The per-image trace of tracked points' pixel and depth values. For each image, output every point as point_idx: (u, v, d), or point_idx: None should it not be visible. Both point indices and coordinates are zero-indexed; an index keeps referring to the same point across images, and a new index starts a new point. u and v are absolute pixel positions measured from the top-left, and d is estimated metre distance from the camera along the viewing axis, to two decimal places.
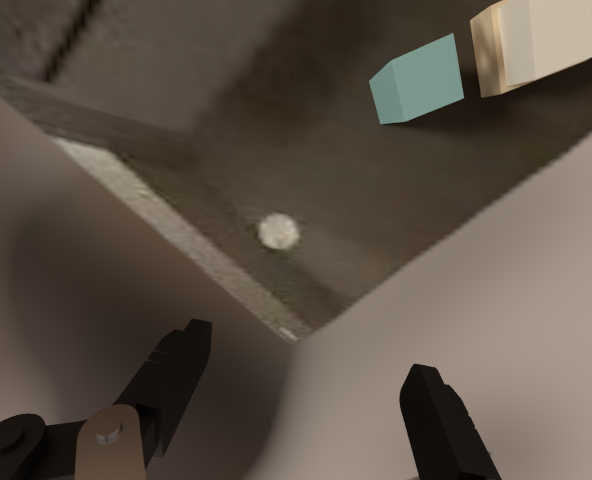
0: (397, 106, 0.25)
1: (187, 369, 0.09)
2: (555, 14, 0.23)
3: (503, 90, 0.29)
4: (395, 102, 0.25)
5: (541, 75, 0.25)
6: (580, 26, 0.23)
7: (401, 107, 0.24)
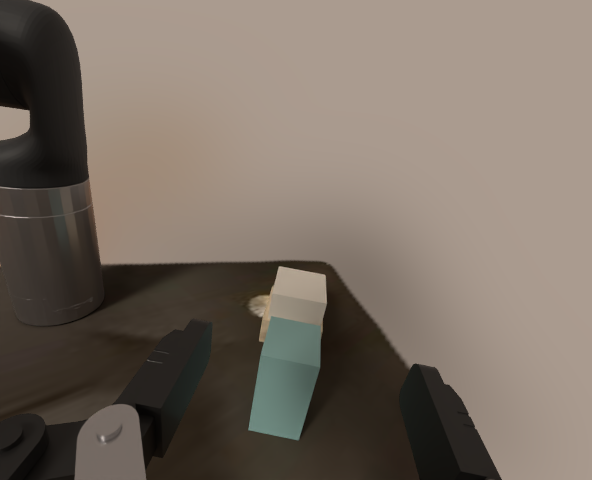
0: (300, 374, 0.23)
1: (187, 369, 0.09)
2: (294, 288, 0.36)
3: None
4: (295, 376, 0.23)
5: (325, 301, 0.35)
6: (306, 283, 0.38)
7: (304, 365, 0.23)
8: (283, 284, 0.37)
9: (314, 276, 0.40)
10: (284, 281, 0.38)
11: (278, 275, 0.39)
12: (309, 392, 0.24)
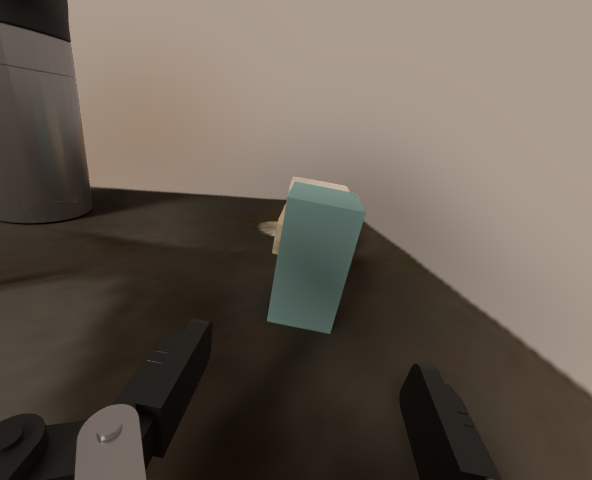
0: (339, 225, 0.18)
1: (187, 369, 0.09)
2: None
3: None
4: (332, 229, 0.18)
5: None
6: None
7: (344, 211, 0.17)
8: None
9: (334, 185, 0.35)
10: None
11: (293, 180, 0.33)
12: (348, 255, 0.19)
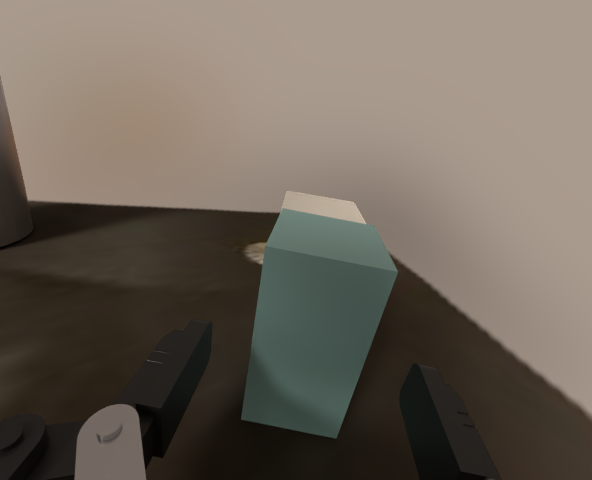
0: (352, 291, 0.11)
1: (187, 369, 0.09)
2: (313, 209, 0.23)
3: None
4: (340, 296, 0.11)
5: (364, 223, 0.22)
6: (331, 207, 0.25)
7: (362, 269, 0.10)
8: (296, 204, 0.24)
9: (339, 202, 0.27)
10: (296, 202, 0.25)
11: (287, 197, 0.26)
12: (367, 335, 0.11)
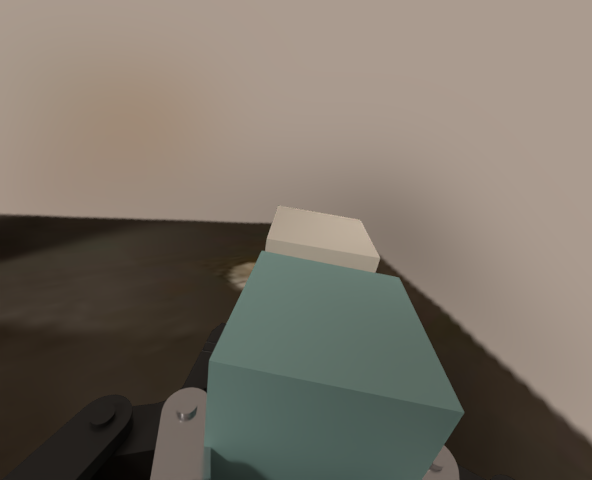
0: (374, 436, 0.06)
1: None
2: (310, 234, 0.18)
3: None
4: (351, 442, 0.06)
5: (376, 254, 0.17)
6: (332, 228, 0.20)
7: (395, 405, 0.05)
8: (288, 227, 0.19)
9: (342, 220, 0.22)
10: (289, 223, 0.20)
11: (278, 215, 0.21)
12: None
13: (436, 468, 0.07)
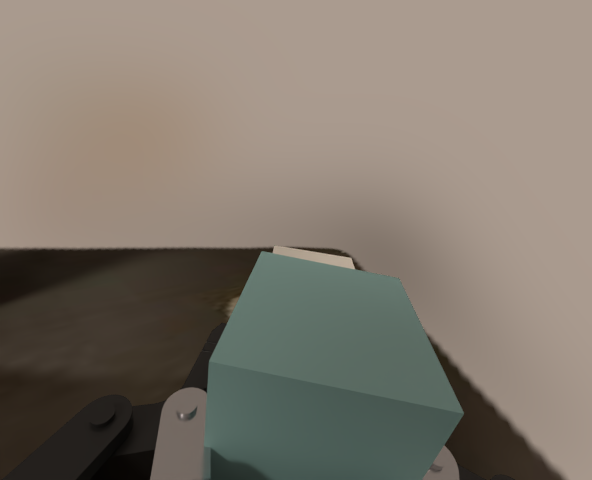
0: (374, 437, 0.06)
1: None
2: None
3: None
4: (351, 443, 0.06)
5: None
6: None
7: (395, 407, 0.05)
8: None
9: (334, 260, 0.24)
10: None
11: None
12: None
13: (436, 468, 0.07)
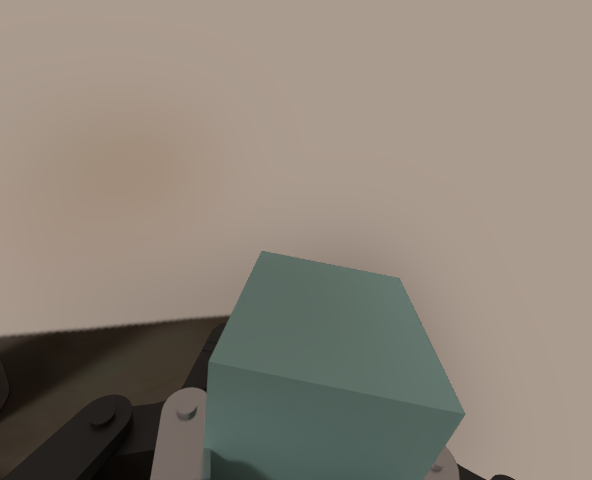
0: (375, 437, 0.06)
1: None
2: None
3: None
4: (352, 444, 0.06)
5: None
6: None
7: (396, 408, 0.05)
8: None
9: None
10: None
11: None
12: None
13: (436, 468, 0.07)
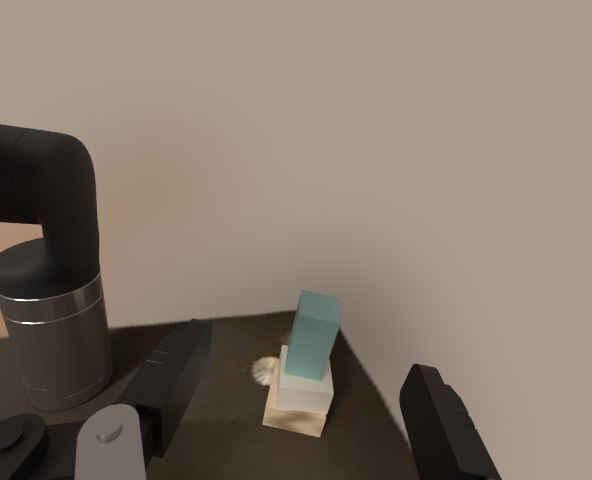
0: (326, 328, 0.33)
1: (187, 369, 0.09)
2: None
3: (323, 417, 0.36)
4: (322, 330, 0.33)
5: (332, 390, 0.36)
6: None
7: (329, 322, 0.32)
8: None
9: None
10: None
11: (282, 359, 0.39)
12: (331, 342, 0.34)
13: None
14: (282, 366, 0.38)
